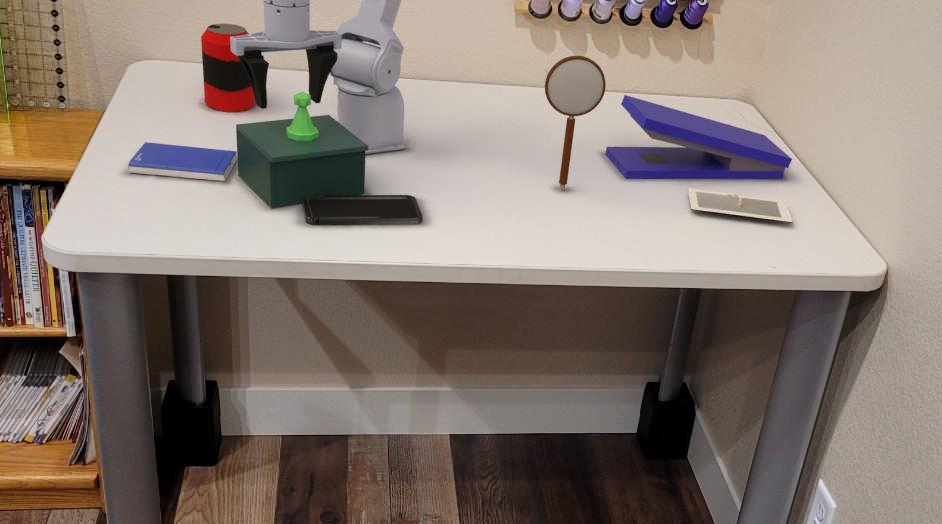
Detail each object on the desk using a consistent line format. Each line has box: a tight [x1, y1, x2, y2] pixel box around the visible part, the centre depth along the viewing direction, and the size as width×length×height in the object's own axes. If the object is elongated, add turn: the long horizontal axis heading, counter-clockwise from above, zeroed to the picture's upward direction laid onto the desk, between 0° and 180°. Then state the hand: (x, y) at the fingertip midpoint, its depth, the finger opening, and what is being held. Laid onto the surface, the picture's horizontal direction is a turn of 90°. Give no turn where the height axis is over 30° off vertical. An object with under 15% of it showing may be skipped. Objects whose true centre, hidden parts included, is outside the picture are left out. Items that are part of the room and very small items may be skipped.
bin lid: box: [235, 114, 368, 163], centre depth 140 cm, size 12×13×1 cm
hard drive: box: [127, 141, 238, 182], centre depth 144 cm, size 2×8×12 cm
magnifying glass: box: [544, 55, 607, 191], centre depth 149 cm, size 9×2×20 cm, turn 100°
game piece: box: [286, 91, 319, 141], centre depth 138 cm, size 4×4×6 cm
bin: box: [235, 129, 366, 209], centre depth 142 cm, size 11×13×7 cm
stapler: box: [605, 94, 793, 180], centre depth 167 cm, size 12×28×10 cm, turn 107°
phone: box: [302, 194, 423, 226], centre depth 139 cm, size 8×1×15 cm
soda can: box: [200, 23, 256, 113], centre depth 164 cm, size 8×8×12 cm
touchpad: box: [687, 187, 793, 223], centre depth 155 cm, size 8×15×2 cm, turn 88°
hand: (288, 103), depth 141 cm, fingers open, 7 cm apart
